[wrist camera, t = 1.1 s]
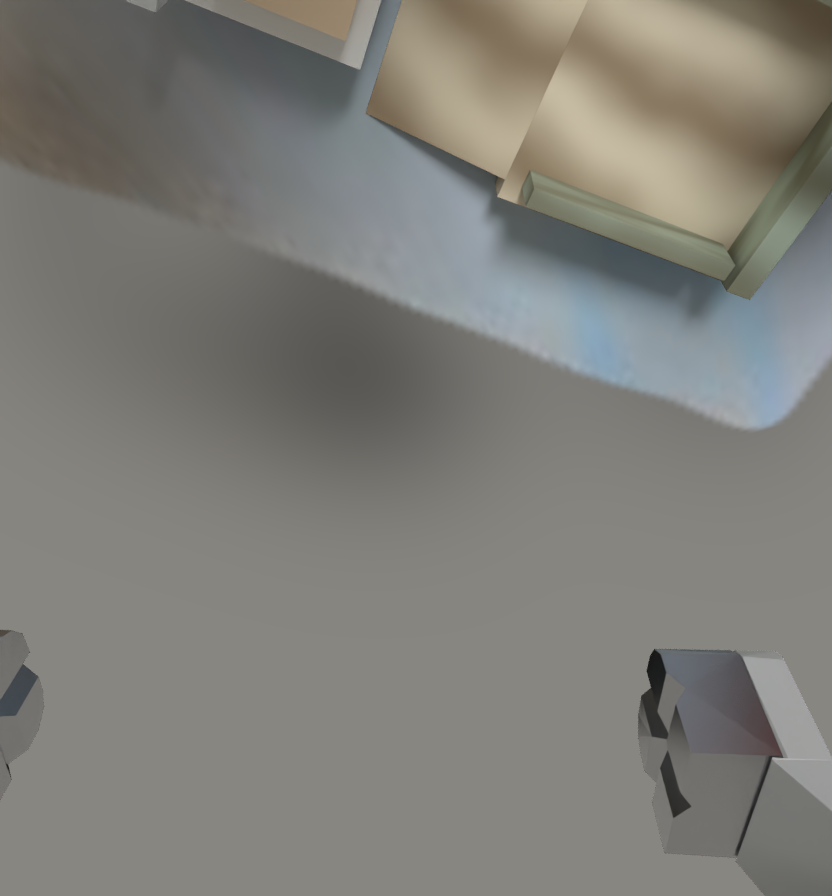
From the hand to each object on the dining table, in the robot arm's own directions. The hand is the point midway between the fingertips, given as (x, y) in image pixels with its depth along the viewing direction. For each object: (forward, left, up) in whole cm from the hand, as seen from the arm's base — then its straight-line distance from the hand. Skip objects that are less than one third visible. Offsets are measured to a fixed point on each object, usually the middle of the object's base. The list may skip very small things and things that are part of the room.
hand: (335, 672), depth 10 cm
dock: (-1, +11, -39) cm, 40 cm away
